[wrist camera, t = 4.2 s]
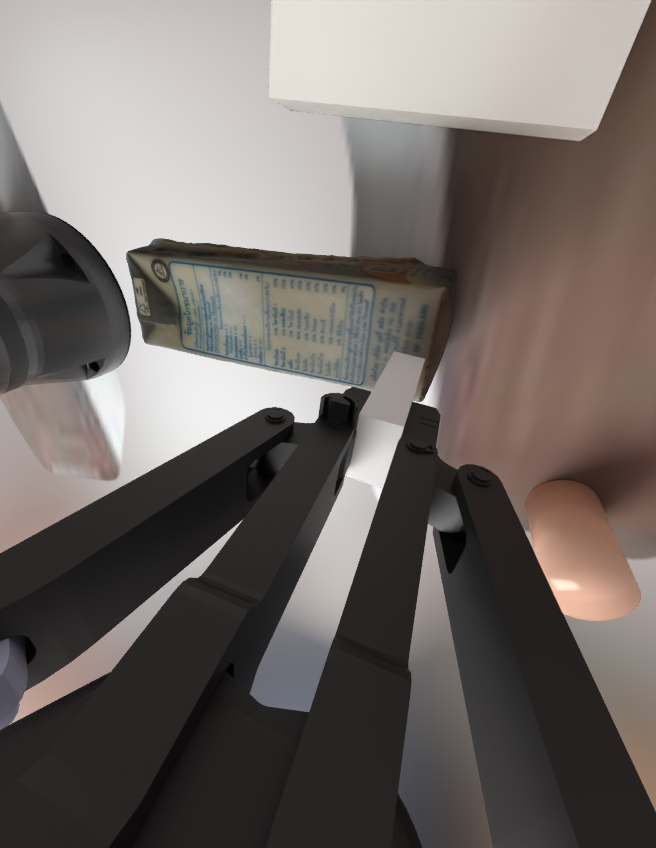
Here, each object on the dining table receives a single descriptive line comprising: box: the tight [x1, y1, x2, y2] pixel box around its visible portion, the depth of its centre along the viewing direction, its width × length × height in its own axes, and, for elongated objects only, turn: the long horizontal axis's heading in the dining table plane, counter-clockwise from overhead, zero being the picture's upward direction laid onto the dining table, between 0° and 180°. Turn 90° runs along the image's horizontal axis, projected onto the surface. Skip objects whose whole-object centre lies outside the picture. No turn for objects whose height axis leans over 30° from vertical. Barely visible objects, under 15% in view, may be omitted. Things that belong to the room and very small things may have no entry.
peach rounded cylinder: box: [525, 480, 641, 621], centre depth 25 cm, size 5×5×8 cm
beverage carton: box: [126, 238, 457, 402], centre depth 23 cm, size 8×19×7 cm
